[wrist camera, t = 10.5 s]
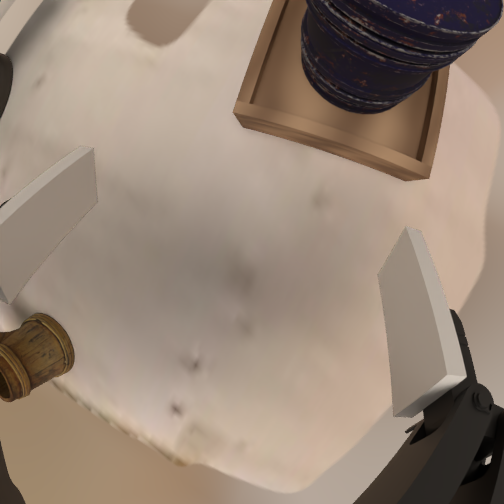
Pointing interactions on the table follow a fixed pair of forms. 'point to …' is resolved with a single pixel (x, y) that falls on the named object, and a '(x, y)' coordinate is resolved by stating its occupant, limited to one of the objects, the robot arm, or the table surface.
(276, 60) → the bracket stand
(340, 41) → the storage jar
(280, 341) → the table surface
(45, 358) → the wooden mug
